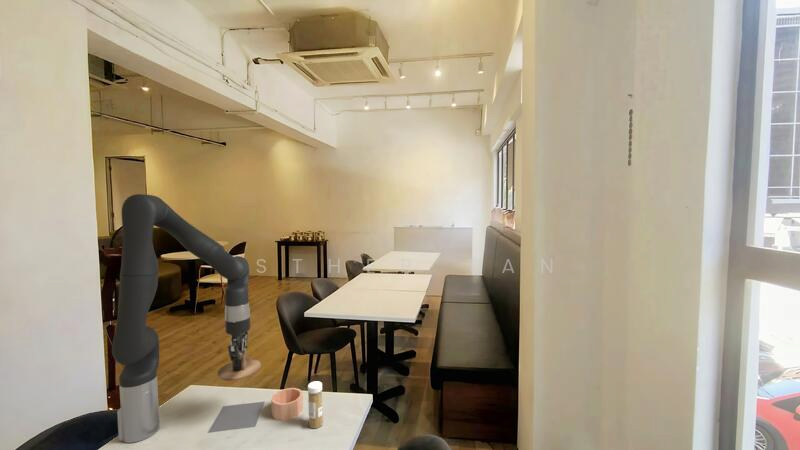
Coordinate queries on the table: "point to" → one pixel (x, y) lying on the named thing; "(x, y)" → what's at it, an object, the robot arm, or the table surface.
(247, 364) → the walnut lid
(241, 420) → the charcoal mat
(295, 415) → the terracotta bowl
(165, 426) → the table surface
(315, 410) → the sprinkles bottle
